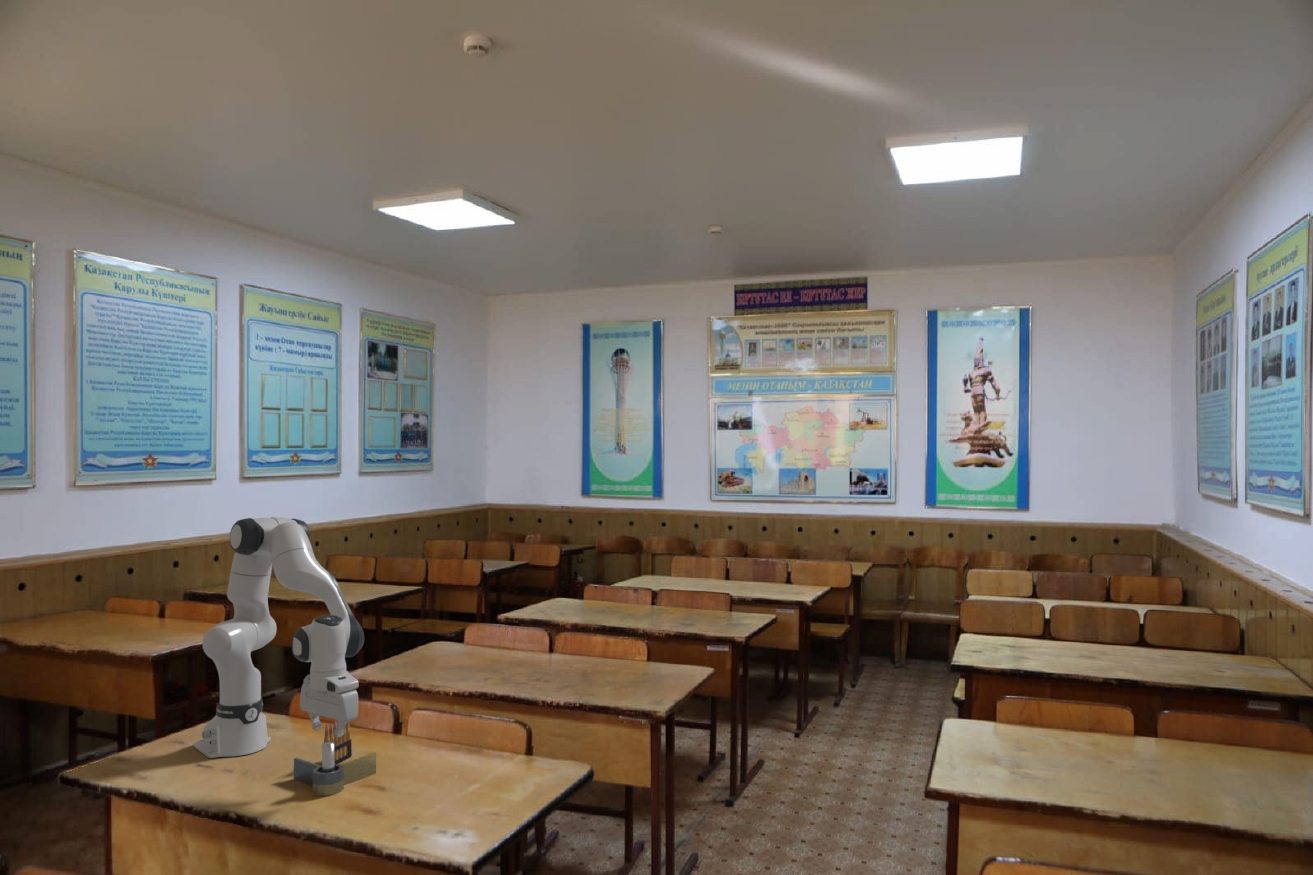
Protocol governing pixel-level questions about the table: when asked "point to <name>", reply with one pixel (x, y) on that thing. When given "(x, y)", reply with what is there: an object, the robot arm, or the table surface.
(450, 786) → the table surface
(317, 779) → the steel leaf
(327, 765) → the hinge pin
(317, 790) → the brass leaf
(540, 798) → the table surface
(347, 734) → the ammunition clip
